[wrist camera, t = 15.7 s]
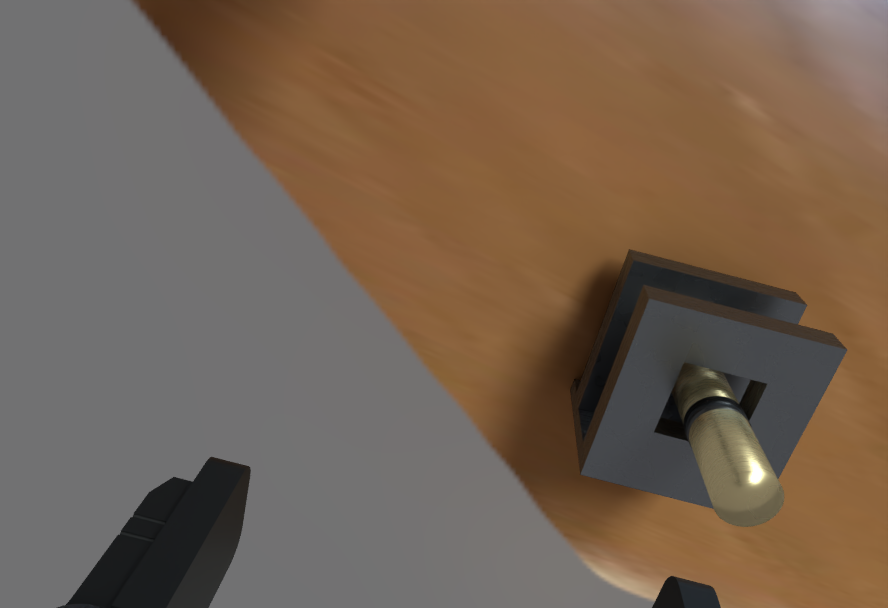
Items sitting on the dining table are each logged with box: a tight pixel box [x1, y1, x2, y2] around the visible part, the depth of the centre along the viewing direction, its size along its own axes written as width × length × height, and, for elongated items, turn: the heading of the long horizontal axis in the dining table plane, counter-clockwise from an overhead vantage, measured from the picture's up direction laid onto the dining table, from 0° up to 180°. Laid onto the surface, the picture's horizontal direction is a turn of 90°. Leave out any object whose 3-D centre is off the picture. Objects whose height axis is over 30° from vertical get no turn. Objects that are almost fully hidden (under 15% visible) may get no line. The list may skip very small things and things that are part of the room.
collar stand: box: [570, 249, 847, 509], centre depth 46 cm, size 12×11×10 cm
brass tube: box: [671, 362, 784, 527], centre depth 42 cm, size 3×3×18 cm
